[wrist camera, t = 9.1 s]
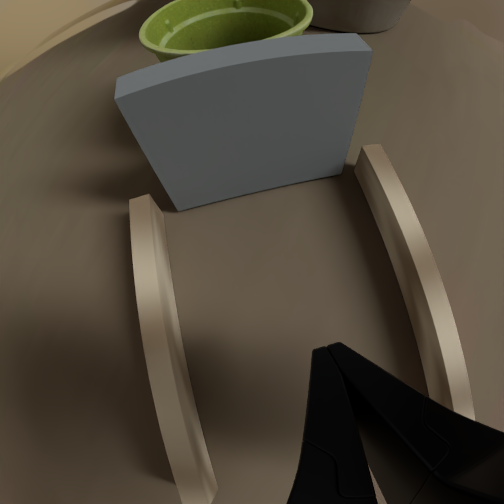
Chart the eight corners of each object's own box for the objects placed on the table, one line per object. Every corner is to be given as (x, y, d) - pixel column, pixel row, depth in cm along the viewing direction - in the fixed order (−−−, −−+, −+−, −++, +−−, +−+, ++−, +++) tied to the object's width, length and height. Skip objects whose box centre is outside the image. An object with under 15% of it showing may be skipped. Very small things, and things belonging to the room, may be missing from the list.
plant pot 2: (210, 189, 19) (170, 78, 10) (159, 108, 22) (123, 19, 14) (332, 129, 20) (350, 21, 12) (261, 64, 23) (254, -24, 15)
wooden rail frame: (451, 416, 13) (475, 421, 10) (196, 490, 12) (184, 508, 10) (370, 167, 18) (379, 143, 16) (145, 219, 18) (129, 200, 16)
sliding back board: (341, 173, 18) (372, 50, 10) (178, 211, 18) (114, 99, 9) (321, 130, 19) (335, 12, 11) (172, 163, 19) (121, 52, 11)
